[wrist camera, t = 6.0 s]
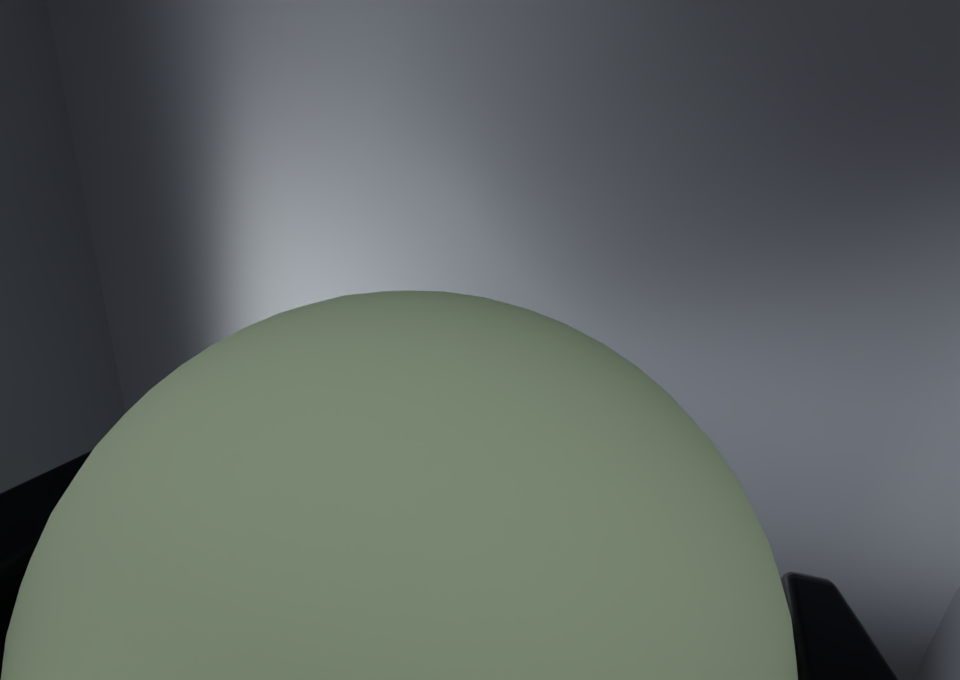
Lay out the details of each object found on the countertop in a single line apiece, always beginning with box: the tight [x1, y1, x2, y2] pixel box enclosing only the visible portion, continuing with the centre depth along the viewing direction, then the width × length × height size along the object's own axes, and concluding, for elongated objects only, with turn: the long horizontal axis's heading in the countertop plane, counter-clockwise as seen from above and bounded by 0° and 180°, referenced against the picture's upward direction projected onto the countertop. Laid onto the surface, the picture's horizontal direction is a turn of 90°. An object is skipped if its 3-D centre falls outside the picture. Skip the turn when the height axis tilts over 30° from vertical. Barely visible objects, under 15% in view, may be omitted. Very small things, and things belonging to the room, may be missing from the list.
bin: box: [0, 0, 960, 680], centre depth 11 cm, size 14×14×4 cm
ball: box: [1, 290, 798, 680], centre depth 7 cm, size 6×6×6 cm
